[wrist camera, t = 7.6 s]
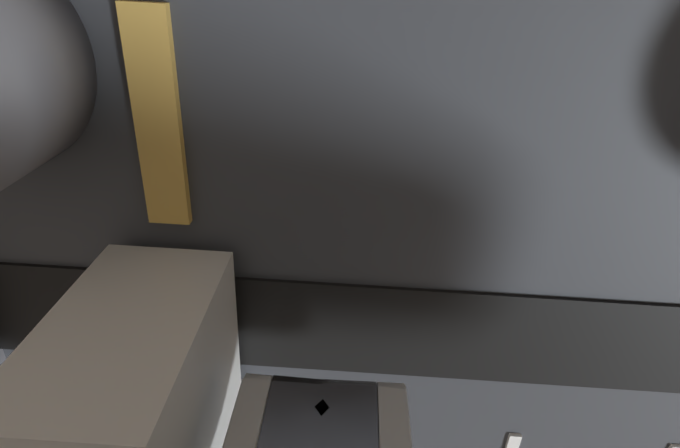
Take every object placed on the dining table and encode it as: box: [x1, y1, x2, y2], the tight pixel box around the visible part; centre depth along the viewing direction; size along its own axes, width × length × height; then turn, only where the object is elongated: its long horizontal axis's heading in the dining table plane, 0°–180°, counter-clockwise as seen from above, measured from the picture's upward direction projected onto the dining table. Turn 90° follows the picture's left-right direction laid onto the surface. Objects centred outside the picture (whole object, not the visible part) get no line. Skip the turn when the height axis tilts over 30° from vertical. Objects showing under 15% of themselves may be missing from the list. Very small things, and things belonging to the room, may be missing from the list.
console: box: [0, 0, 680, 448], centre depth 11 cm, size 17×26×5 cm, turn 87°
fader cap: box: [0, 244, 241, 448], centre depth 9 cm, size 4×2×5 cm, turn 177°
